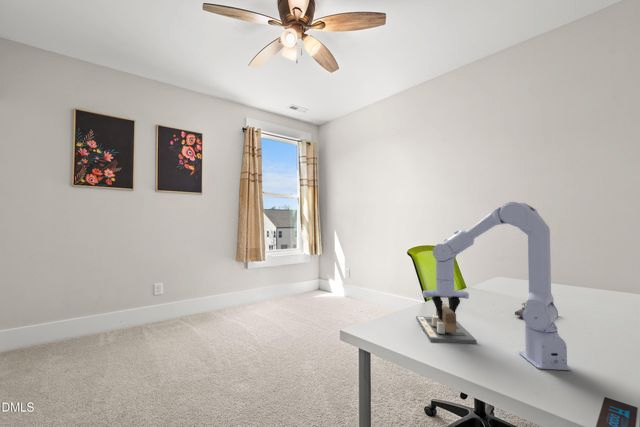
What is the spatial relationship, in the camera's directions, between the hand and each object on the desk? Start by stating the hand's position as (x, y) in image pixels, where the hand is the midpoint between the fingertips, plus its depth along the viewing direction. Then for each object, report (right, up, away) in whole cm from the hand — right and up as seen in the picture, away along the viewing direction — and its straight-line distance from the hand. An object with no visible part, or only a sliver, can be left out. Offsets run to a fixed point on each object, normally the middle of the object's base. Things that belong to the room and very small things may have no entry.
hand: (445, 318), depth 102 cm
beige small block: (-3, -3, -3) cm, 5 cm away
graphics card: (+42, -6, +19) cm, 47 cm away
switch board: (0, -5, +3) cm, 6 cm away
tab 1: (-2, -4, +3) cm, 5 cm away
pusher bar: (0, -3, 0) cm, 3 cm away
